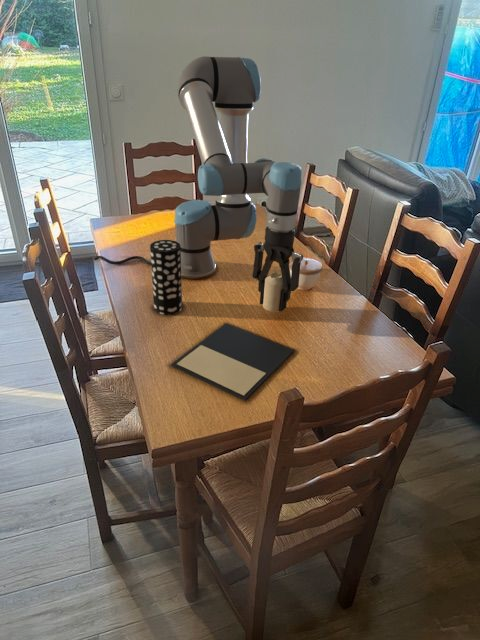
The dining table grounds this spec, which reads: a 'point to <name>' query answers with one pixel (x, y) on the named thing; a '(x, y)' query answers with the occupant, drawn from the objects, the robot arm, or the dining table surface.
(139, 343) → the dining table surface
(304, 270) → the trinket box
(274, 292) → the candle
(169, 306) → the spotted tube
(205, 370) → the table mat
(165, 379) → the dining table surface
